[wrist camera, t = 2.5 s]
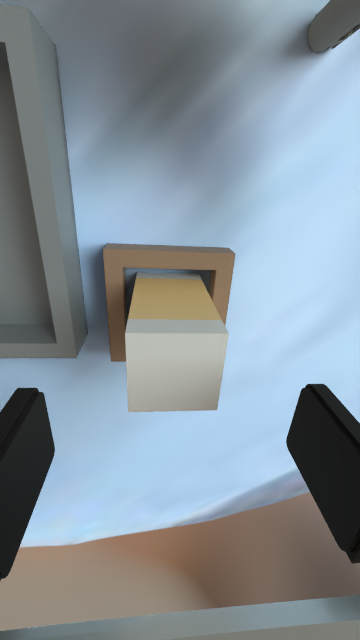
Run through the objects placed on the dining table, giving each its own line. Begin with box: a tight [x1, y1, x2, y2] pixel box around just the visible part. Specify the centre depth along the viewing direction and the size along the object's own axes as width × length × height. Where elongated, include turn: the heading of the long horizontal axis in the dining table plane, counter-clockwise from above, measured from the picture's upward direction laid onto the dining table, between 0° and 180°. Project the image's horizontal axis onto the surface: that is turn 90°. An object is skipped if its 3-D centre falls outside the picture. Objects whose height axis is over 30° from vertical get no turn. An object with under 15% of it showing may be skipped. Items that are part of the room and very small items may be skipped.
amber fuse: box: [125, 272, 228, 412], centre depth 15 cm, size 4×4×8 cm
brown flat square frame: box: [103, 243, 235, 361], centre depth 18 cm, size 8×8×2 cm
